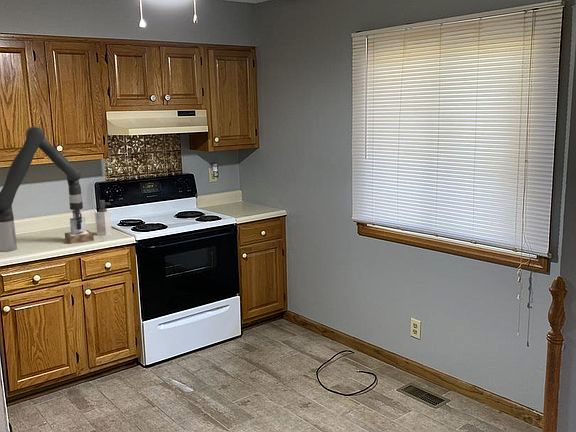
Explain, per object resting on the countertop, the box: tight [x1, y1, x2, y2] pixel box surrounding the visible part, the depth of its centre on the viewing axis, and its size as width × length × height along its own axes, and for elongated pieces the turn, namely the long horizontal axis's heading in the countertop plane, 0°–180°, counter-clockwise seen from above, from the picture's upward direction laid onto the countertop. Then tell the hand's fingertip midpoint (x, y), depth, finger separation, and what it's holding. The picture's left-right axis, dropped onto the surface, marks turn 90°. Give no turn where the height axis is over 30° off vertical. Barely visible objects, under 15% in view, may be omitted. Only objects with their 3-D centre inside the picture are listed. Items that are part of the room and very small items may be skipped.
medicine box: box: [69, 216, 87, 233], centre depth 355 cm, size 8×4×9 cm, turn 140°
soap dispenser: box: [95, 199, 113, 236], centre depth 369 cm, size 6×9×22 cm
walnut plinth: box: [64, 229, 95, 245], centre depth 357 cm, size 14×14×4 cm
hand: (78, 228), depth 356 cm, fingers closed on medicine box, 5 cm apart
